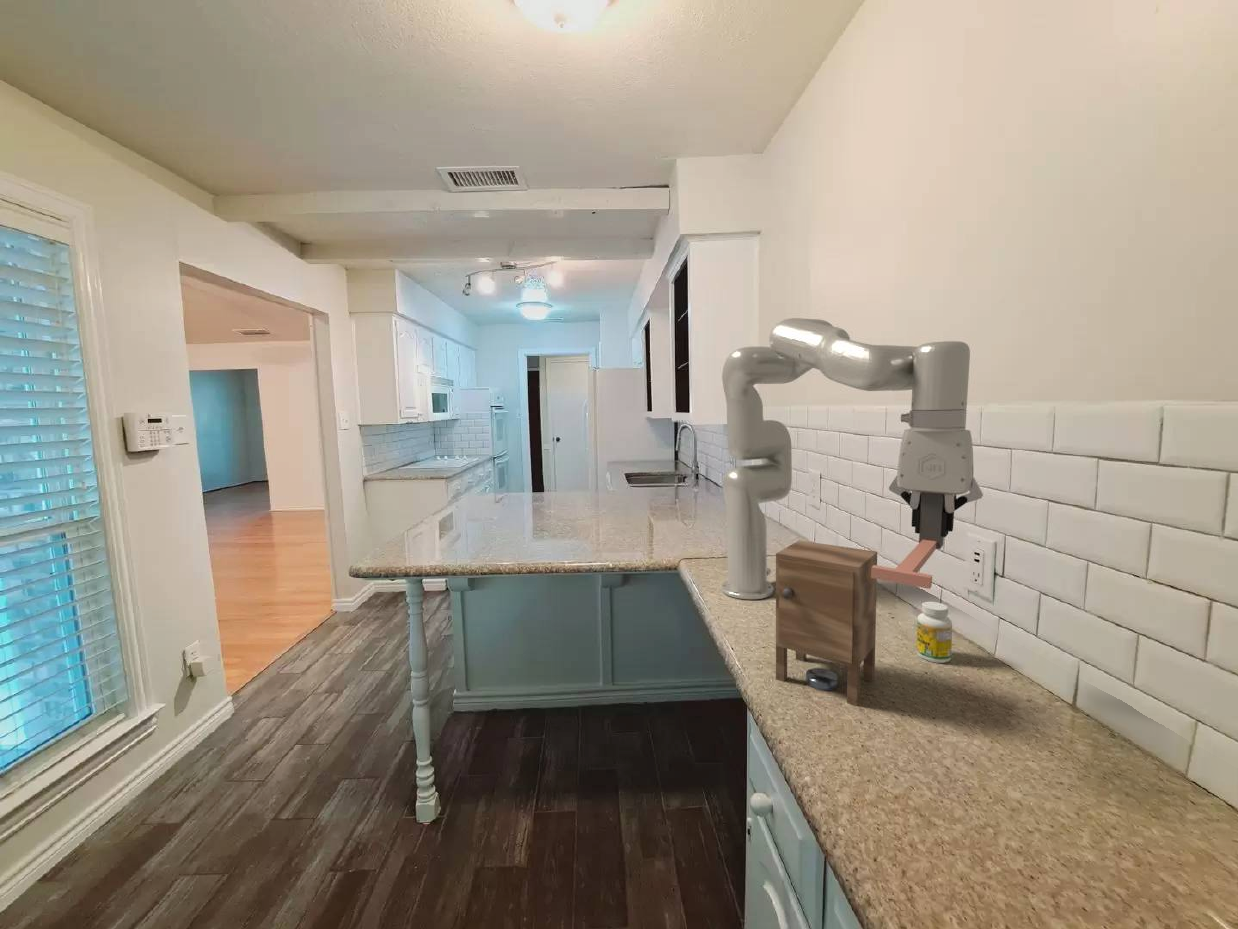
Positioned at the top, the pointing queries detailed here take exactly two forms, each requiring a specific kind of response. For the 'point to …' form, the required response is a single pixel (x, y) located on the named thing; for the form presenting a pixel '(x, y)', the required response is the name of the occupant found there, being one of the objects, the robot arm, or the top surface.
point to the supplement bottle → (934, 633)
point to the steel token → (822, 679)
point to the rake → (919, 546)
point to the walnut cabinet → (827, 608)
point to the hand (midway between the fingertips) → (931, 532)
